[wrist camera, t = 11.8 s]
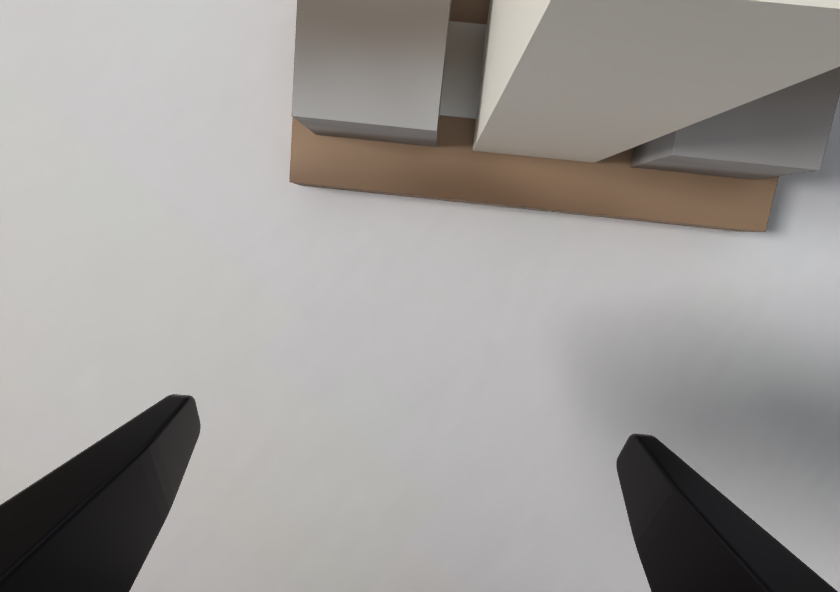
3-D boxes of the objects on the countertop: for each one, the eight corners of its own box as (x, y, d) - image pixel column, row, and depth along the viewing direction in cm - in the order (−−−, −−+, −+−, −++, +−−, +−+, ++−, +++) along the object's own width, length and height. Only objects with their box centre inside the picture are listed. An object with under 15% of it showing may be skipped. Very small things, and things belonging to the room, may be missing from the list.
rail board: (739, 231, 19) (833, 233, 14) (300, 185, 19) (260, 173, 15) (795, -14, 17) (922, -98, 13) (313, -60, 17) (273, -158, 13)
